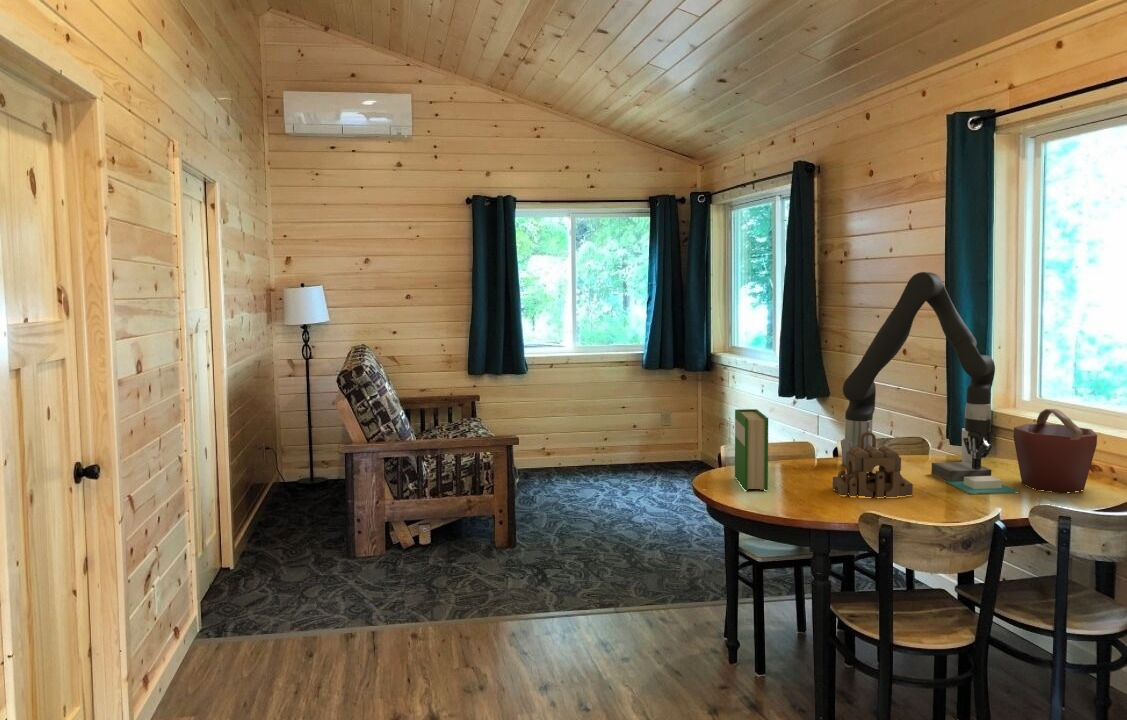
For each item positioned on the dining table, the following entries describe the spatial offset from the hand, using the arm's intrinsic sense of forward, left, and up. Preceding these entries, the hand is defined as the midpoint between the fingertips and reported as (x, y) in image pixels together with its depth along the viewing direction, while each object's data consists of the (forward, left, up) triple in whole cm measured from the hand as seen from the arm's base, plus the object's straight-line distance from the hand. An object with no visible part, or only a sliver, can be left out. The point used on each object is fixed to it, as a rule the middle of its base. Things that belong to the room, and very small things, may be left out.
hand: (976, 469), depth 261 cm
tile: (0, -4, -3) cm, 5 cm away
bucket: (+22, -5, -5) cm, 23 cm away
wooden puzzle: (-37, -6, -6) cm, 38 cm away
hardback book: (-72, +8, -5) cm, 73 cm away
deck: (0, +9, -5) cm, 10 cm away
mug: (+16, +29, -5) cm, 33 cm away
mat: (0, -4, -5) cm, 6 cm away
